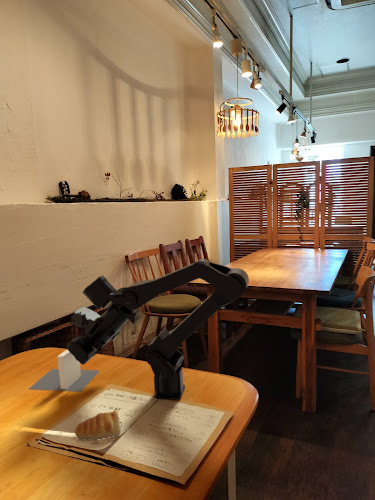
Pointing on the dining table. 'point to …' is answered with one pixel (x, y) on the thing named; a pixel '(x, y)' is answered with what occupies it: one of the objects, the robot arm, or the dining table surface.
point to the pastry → (99, 426)
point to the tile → (68, 369)
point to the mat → (53, 381)
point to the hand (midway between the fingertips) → (76, 359)
